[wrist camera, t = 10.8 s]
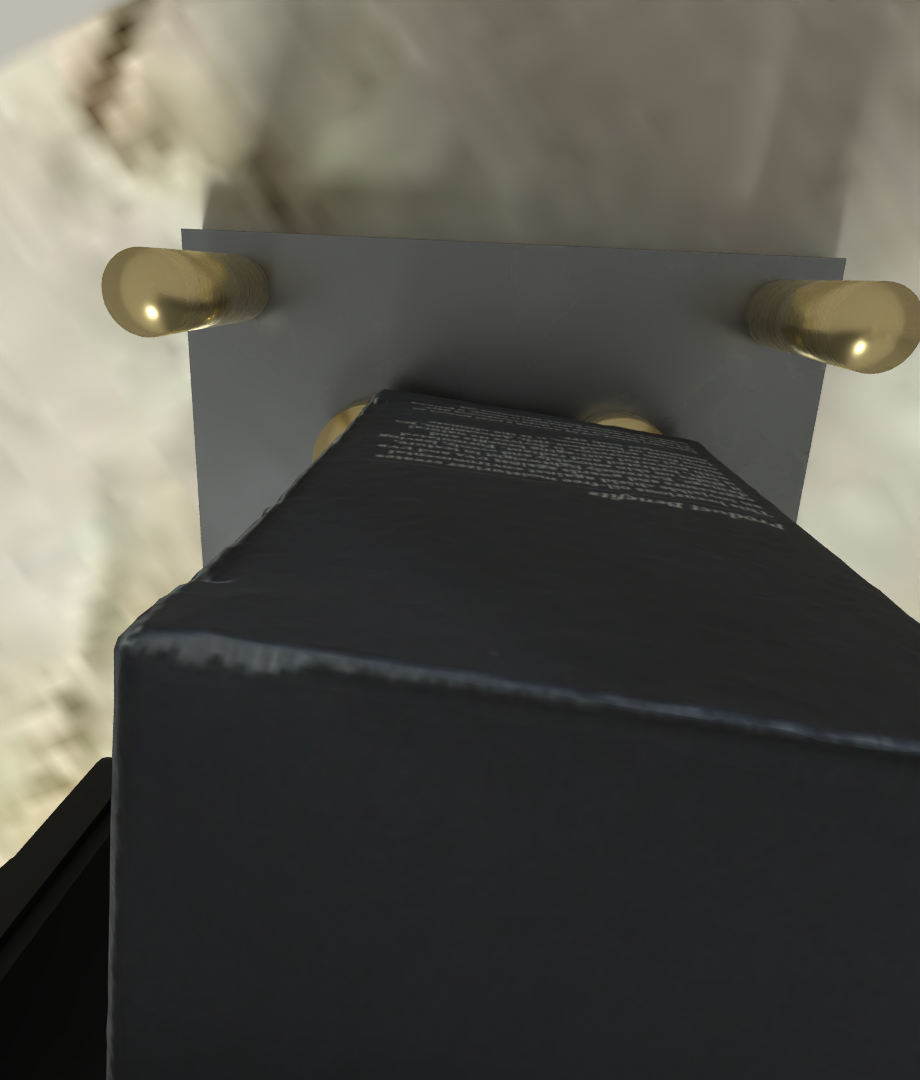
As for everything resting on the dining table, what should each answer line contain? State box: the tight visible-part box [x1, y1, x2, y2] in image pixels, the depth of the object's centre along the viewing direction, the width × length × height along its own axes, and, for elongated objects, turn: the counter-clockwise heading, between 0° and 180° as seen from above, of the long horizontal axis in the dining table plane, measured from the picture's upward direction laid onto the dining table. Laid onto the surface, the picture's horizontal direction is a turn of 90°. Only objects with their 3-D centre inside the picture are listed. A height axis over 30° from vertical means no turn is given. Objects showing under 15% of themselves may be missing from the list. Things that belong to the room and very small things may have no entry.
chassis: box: [102, 229, 920, 568], centre depth 15 cm, size 12×16×5 cm
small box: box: [106, 389, 920, 1080], centre depth 11 cm, size 11×6×10 cm, turn 171°
